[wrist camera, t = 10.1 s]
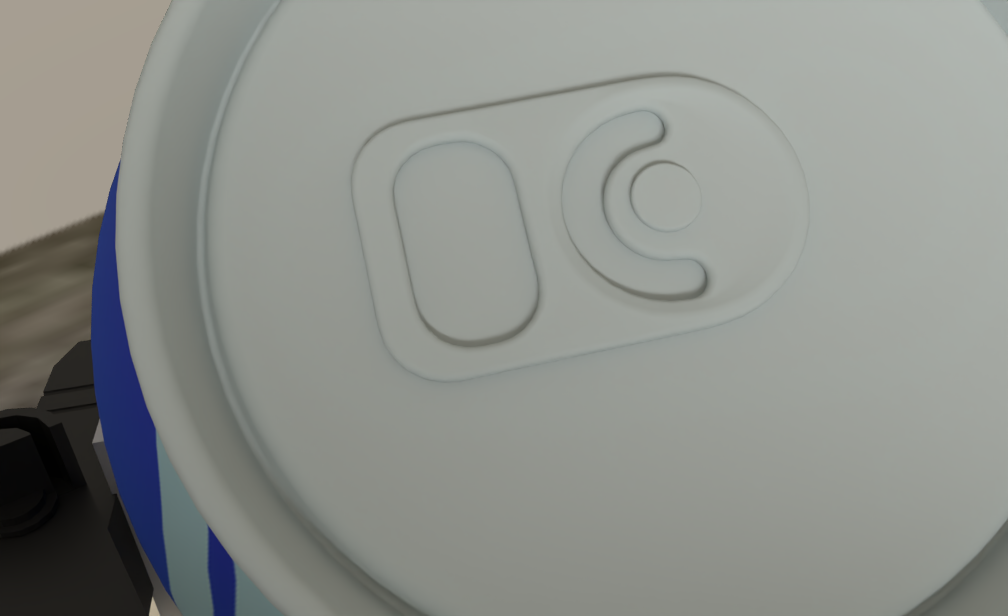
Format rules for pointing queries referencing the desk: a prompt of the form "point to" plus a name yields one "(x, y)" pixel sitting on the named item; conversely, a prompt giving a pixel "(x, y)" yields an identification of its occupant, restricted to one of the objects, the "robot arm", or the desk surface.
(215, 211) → the beer can
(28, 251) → the desk surface
